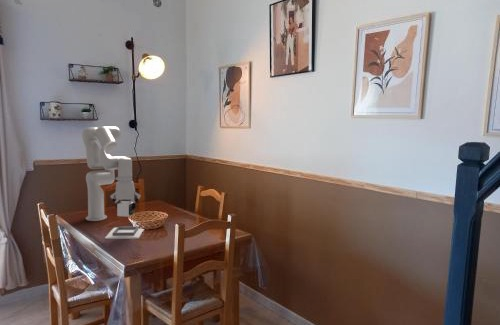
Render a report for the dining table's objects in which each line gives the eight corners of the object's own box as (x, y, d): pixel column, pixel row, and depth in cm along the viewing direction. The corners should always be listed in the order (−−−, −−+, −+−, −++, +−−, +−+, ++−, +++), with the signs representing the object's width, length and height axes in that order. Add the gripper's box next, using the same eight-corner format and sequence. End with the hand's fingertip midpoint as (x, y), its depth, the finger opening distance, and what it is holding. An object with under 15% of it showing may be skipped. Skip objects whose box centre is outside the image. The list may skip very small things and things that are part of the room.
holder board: (114, 228, 205) (113, 225, 205) (144, 228, 207) (144, 224, 207) (104, 238, 187) (104, 234, 187) (138, 238, 190) (138, 234, 189)
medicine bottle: (129, 216, 192) (129, 195, 191) (117, 216, 193) (116, 195, 192) (134, 214, 199) (134, 193, 198) (123, 213, 200) (123, 193, 199)
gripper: (107, 180, 189) (108, 211, 191) (139, 180, 191) (140, 211, 193) (111, 178, 196) (111, 208, 198) (142, 178, 198) (142, 207, 200)
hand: (125, 209), depth 196 cm, fingers closed on medicine bottle, 8 cm apart
